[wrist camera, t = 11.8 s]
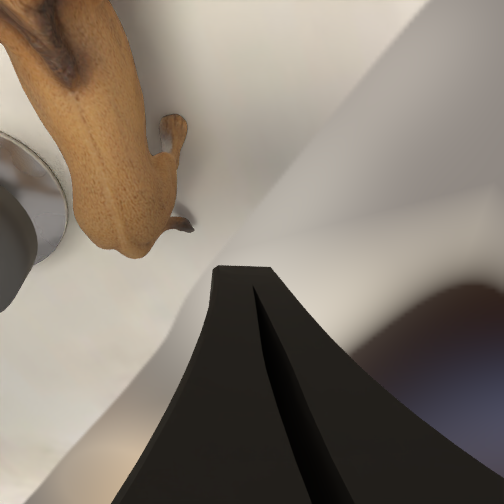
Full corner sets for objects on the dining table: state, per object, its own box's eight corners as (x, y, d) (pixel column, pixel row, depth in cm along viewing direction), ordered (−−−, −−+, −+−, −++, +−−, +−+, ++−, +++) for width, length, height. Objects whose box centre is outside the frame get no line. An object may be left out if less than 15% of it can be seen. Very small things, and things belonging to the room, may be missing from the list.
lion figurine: (-110, -142, 11) (-695, -408, 4) (51, -231, 11) (-259, -736, 3) (146, 244, 19) (120, 398, 12) (244, 204, 19) (280, 338, 12)
